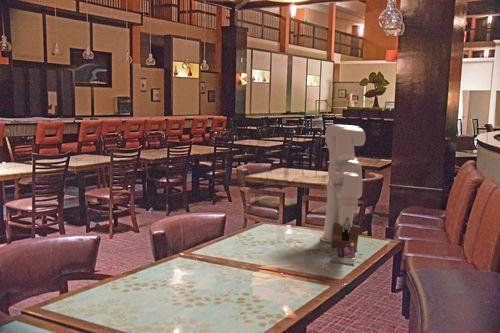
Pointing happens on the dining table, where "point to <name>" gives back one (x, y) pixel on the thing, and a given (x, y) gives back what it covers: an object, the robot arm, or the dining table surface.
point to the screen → (338, 236)
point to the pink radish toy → (345, 250)
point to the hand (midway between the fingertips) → (345, 238)
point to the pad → (342, 260)
